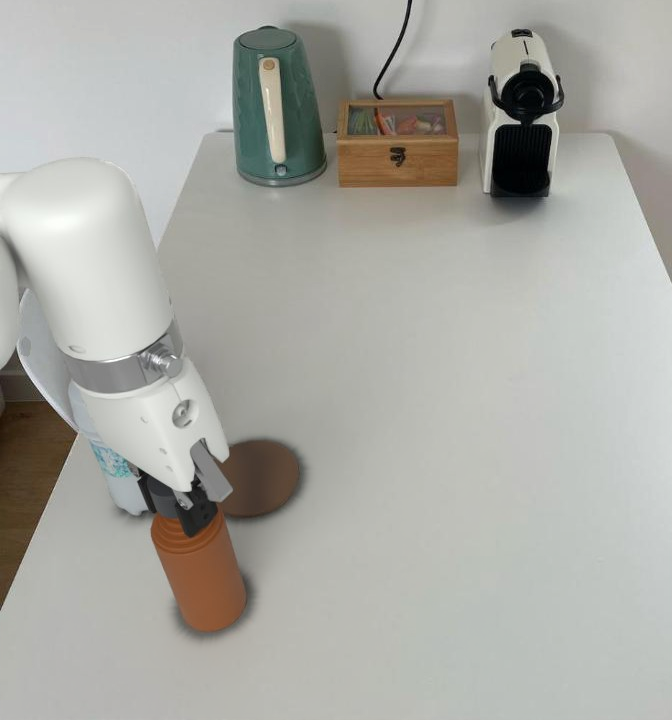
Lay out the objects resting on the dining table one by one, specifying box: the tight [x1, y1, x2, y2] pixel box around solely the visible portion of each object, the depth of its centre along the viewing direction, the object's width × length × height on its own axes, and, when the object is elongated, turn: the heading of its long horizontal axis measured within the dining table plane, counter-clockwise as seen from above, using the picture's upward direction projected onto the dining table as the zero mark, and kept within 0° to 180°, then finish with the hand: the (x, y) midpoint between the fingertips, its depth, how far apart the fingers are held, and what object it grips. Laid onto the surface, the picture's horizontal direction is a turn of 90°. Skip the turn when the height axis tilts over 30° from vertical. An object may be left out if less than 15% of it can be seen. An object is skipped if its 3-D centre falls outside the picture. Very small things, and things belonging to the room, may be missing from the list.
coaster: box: [213, 439, 300, 519], centre depth 86 cm, size 10×10×1 cm
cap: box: [147, 474, 198, 519], centre depth 64 cm, size 4×4×3 cm
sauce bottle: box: [150, 503, 247, 633], centre depth 69 cm, size 6×6×18 cm
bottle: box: [67, 379, 149, 517], centre depth 78 cm, size 7×7×20 cm
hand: (183, 510), depth 66 cm, fingers closed on cap, 3 cm apart
